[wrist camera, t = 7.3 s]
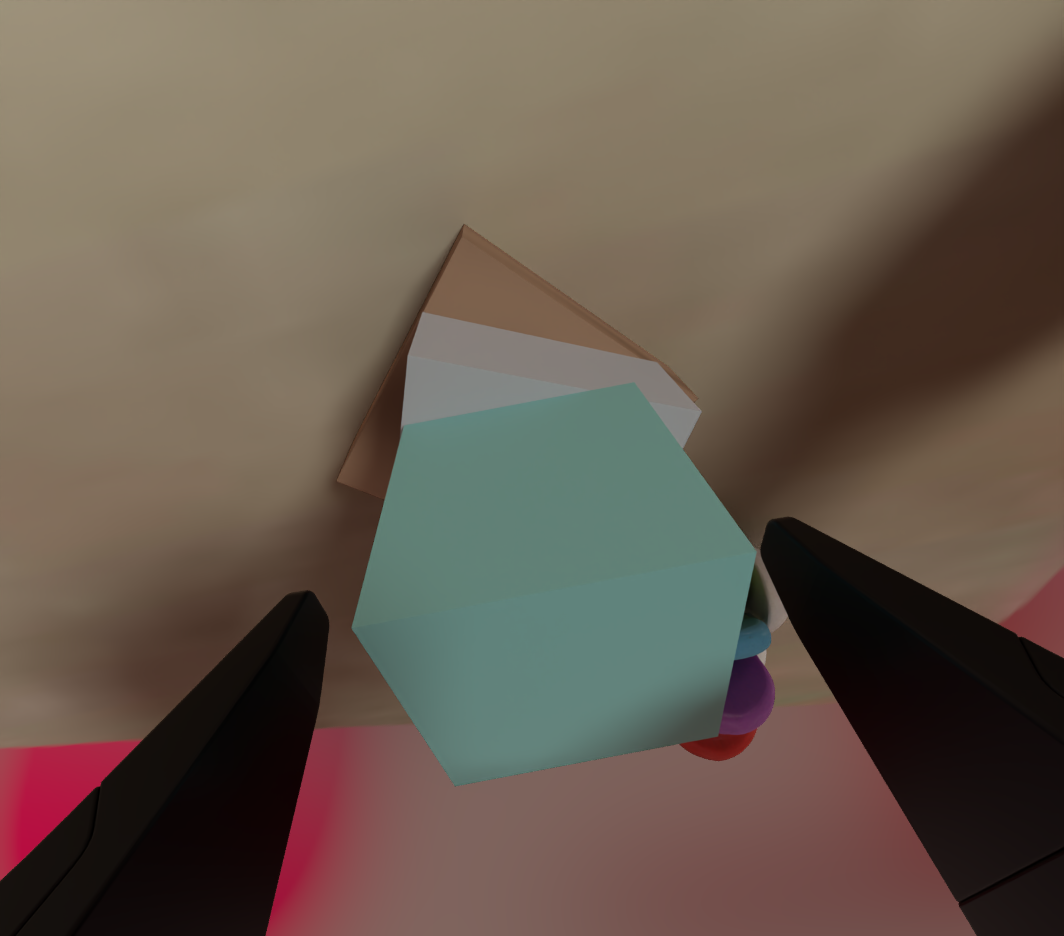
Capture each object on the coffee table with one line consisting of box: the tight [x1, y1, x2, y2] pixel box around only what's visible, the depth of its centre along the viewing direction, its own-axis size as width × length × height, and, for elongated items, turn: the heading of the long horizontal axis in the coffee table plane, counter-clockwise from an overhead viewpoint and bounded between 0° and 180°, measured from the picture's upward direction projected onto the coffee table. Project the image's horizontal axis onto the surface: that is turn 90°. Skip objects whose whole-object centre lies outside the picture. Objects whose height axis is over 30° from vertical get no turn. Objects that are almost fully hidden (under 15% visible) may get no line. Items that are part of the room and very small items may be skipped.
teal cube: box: [352, 382, 757, 786], centre depth 9 cm, size 5×5×5 cm
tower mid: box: [399, 312, 702, 449], centre depth 12 cm, size 6×6×3 cm
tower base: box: [337, 224, 698, 500], centre depth 15 cm, size 8×8×3 cm
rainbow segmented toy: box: [680, 548, 788, 761], centre depth 20 cm, size 8×10×7 cm
